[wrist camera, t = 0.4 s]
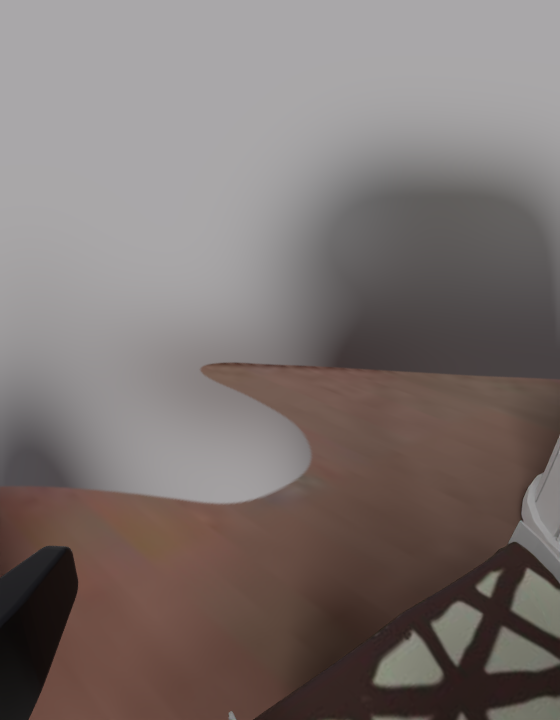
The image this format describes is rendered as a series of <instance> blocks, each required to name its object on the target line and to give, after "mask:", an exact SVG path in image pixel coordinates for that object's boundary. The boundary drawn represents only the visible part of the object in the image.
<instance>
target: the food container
mask: <svg viewBox="0 0 560 720" xmlns="http://www.w3.org/2000/svg"><path fill="white" fill-rule="evenodd" d="M229 720H236V718H235V716H234V714H233V712H232V711H231V712H229ZM253 720H560V559H559V557H558V556H557V555H556V554H555V553H554V552H553V551H552V550H551V549H550V548H549V546H548V545H547V544H546V543H545V542H544V541H543V540H542V539H541V538H540V537H539V536H538V535H537V534H536V533H535V532H534V531H532V530H531V529H530V528H529V527H528V526H527V525H526V524H525V523H524V522H522V521H520V522H519V523H518V525H517V527H516V529H515V531H514V533H513V535H512V537H511V539H510V541H509V542H508V544H507V546H506V547H504V548H501V549H499V550H498V551H497V552H496V553H495V554H494V555H493V556H492V557H491V558H489V559H488V560H487V561H485V562H484V563H482V564H481V565H479V566H478V567H476V568H475V569H473V570H472V571H470V572H469V573H467V574H466V575H464V576H463V577H461V578H460V579H458V580H456V581H455V582H453V583H452V584H450V585H449V586H447V587H445V588H444V589H442V590H441V591H439V592H437V593H435V594H434V595H432V596H430V597H429V598H427V599H425V600H423V601H422V602H420V603H418V604H417V605H415V606H413V607H412V608H410V609H408V610H407V611H405V612H403V613H402V614H401V615H399V616H398V617H397V618H395V619H394V620H393V621H391V622H390V623H389V624H387V625H386V626H385V627H383V628H382V629H381V630H379V631H378V632H377V633H375V634H374V635H373V636H372V637H370V638H369V639H368V640H366V641H365V642H364V643H362V644H361V645H359V646H358V647H357V648H355V649H354V650H353V651H351V652H350V653H348V654H347V655H346V656H344V657H343V658H341V659H340V660H339V661H337V662H336V663H335V664H333V665H332V666H330V667H329V668H328V669H326V670H325V671H323V672H322V673H320V674H319V675H317V676H316V677H314V678H313V679H311V680H310V681H309V682H307V683H306V684H304V685H303V686H301V687H300V688H298V689H297V690H295V691H294V692H293V693H291V694H290V695H288V696H287V697H285V698H284V699H282V700H281V701H279V702H278V703H277V704H275V705H274V706H272V707H271V708H269V709H268V710H266V711H265V712H263V713H262V714H261V715H259V716H258V717H256V718H255V719H253Z"/></svg>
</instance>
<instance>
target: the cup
mask: <svg viewBox="0 0 560 720" xmlns="http://www.w3.org/2000/svg"><path fill="white" fill-rule="evenodd" d="M521 515H522V518H523V521H524V523H525V524H526V525H527V526H528V527H529V528H530V529H531V530H532V531H534V532H535V533H536V534H537V535H538V536H539V537H540V538H541V539H542V540H543V541H544V542H545V543H546V544H547V545H548V546H549V548H550V549H551V550H552V551H553V552H554V553H555V554H556V555H557V556H558V557H559V559H560V436H559V438H558V440H557V443H556V445H555V448H554V450H553V452H552V455H551V457H550V459H549V462H548V464H547V467H546V469H545V471H544V473H542V474H540V475H537V477H536V478H535V479H534V480H533V482H532V483H531V484H530V485H529V487H528V489H527V491H526V493H525V496H524V498H523V504H522V512H521Z"/></svg>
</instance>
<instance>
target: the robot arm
mask: <svg viewBox="0 0 560 720" xmlns="http://www.w3.org/2000/svg"><path fill="white" fill-rule="evenodd" d="M77 590H78V578H77V573H76V568H75V563H74V558H73V553H72V550H71V549H70V548H69V547H65V546H46V547H44V548H42V549H40V550H39V551H37V552H36V553H35V554H33V555H32V556H30V557H29V558H27V559H26V560H25V561H23V562H22V563H20V564H19V565H18V566H16V567H15V568H13V569H12V570H10V571H9V572H8V573H6V574H5V575H3V576H2V577H1V578H0V720H29V717H30V715H31V713H32V711H33V709H34V707H35V704H36V702H37V700H38V698H39V695H40V693H41V691H42V688H43V686H44V683H45V680H46V678H47V675H48V673H49V670H50V667H51V664H52V662H53V659H54V656H55V653H56V650H57V648H58V645H59V642H60V639H61V637H62V634H63V631H64V628H65V626H66V623H67V620H68V617H69V614H70V612H71V609H72V606H73V603H74V601H75V598H76V595H77Z"/></svg>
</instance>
